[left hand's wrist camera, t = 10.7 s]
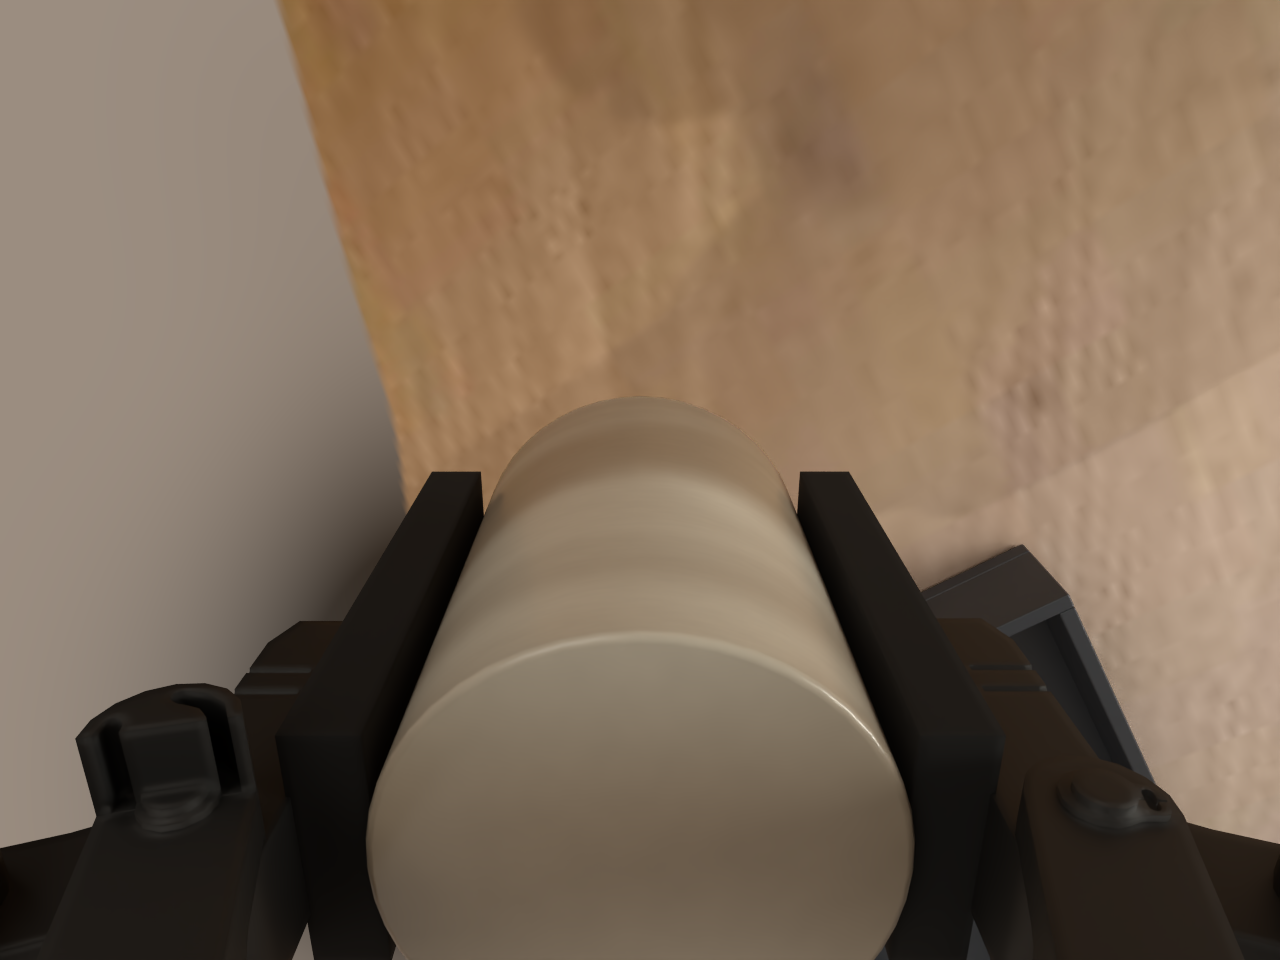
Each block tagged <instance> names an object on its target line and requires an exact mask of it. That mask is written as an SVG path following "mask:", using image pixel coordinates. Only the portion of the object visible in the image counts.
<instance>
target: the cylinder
mask: <svg viewBox="0 0 1280 960" xmlns="http://www.w3.org/2000/svg"><path fill="white" fill-rule="evenodd" d="M914 849H915V835H914V826H913V817H912V810H911V806H910V803H909V799H908V796H907V793H906V789H905V786H904V782H903V780H902V777H901V775H900V772H899V770H898V767H897V765H896V762H895V760H894V757H893V755H892V752H891V750H890V747H889V745H888V742H887V740H886V737H885V735H884V732H883V730H882V727H881V724H880V722H879V719H878V717H877V714H876V712H875V709H874V707H873V704H872V702H871V699H870V697H869V694H868V692H867V689H866V687H865V684H864V682H863V679H862V677H861V674H860V672H859V669H858V667H857V664H856V662H855V659H854V657H853V654H852V652H851V649H850V647H849V644H848V642H847V639H846V636H845V634H844V631H843V629H842V626H841V624H840V621H839V619H838V616H837V614H836V611H835V609H834V606H833V604H832V601H831V599H830V596H829V594H828V591H827V589H826V586H825V584H824V581H823V579H822V576H821V574H820V571H819V569H818V566H817V564H816V561H815V559H814V556H813V554H812V551H811V549H810V546H809V543H808V541H807V538H806V536H805V533H804V531H803V528H802V526H801V523H800V521H799V518H798V516H797V513H796V511H795V508H794V506H793V503H792V501H791V498H790V496H789V493H788V491H787V489H786V486H785V484H784V482H783V480H782V478H781V476H780V474H779V472H778V471H777V469H776V468H775V466H774V465H773V463H772V461H771V460H770V458H769V457H768V456H767V455H766V454H765V452H764V451H763V450H762V449H761V448H760V447H759V446H758V444H757V443H756V442H755V441H754V440H752V439H751V438H750V437H749V436H748V435H747V434H745V433H744V432H743V431H742V430H741V429H740V428H738V427H736V426H735V425H733V424H732V423H730V422H729V421H727V420H726V419H724V418H723V417H721V416H719V415H716V414H714V413H712V412H710V411H708V410H706V409H704V408H701V407H698V406H695V405H692V404H689V403H686V402H682V401H677V400H672V399H667V398H659V397H643V396H638V397H623V398H615V399H610V400H605V401H599V402H596V403H593V404H590V405H587V406H584V407H581V408H578V409H576V410H574V411H571V412H569V413H567V414H565V415H563V416H561V417H559V418H557V419H556V420H554V421H553V422H551V423H550V424H548V425H547V426H545V427H544V428H542V429H541V430H540V431H539V432H537V433H536V434H535V435H534V436H533V437H532V438H530V439H529V440H528V441H527V442H526V443H525V444H524V445H523V446H522V447H521V449H520V450H519V451H518V452H517V453H516V454H515V455H514V457H513V458H512V459H511V461H510V463H509V464H508V466H507V467H506V469H505V470H504V472H503V473H502V475H501V477H500V479H499V482H498V484H497V486H496V488H495V490H494V492H493V495H492V497H491V500H490V502H489V505H488V507H487V510H486V512H485V515H484V517H483V520H482V522H481V525H480V527H479V530H478V532H477V535H476V537H475V540H474V542H473V545H472V547H471V550H470V552H469V555H468V557H467V560H466V562H465V564H464V567H463V569H462V572H461V574H460V577H459V579H458V582H457V584H456V587H455V589H454V592H453V594H452V597H451V599H450V602H449V604H448V607H447V609H446V612H445V614H444V617H443V619H442V622H441V624H440V627H439V629H438V632H437V634H436V637H435V639H434V641H433V644H432V646H431V649H430V651H429V654H428V656H427V659H426V661H425V664H424V666H423V669H422V671H421V674H420V676H419V679H418V681H417V684H416V686H415V689H414V691H413V694H412V696H411V699H410V701H409V704H408V706H407V709H406V711H405V714H404V716H403V718H402V721H401V723H400V726H399V728H398V731H397V733H396V736H395V738H394V741H393V743H392V746H391V748H390V751H389V753H388V756H387V758H386V761H385V763H384V766H383V768H382V771H381V773H380V776H379V778H378V781H377V783H376V787H375V790H374V794H373V797H372V801H371V804H370V808H369V813H368V821H367V830H366V856H367V869H368V874H369V878H370V883H371V887H372V892H373V896H374V900H375V903H376V905H377V908H378V910H379V913H380V915H381V918H382V920H383V923H384V925H385V927H386V929H387V930H388V932H389V934H390V935H391V937H392V939H393V941H394V942H395V944H396V946H397V947H398V949H399V950H400V952H401V953H402V954H403V956H404V957H405V958H406V959H407V960H874V959H875V958H876V957H877V956H878V954H879V953H880V952H881V951H882V949H883V947H884V946H885V944H886V942H887V940H888V939H889V937H890V935H891V934H892V932H893V930H894V928H895V927H896V925H897V922H898V920H899V917H900V915H901V912H902V910H903V907H904V905H905V902H906V899H907V895H908V890H909V886H910V882H911V877H912V873H913V866H914Z"/></svg>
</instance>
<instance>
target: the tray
mask: <svg viewBox="0 0 1280 960" xmlns="http://www.w3.org/2000/svg"><path fill="white" fill-rule="evenodd" d="M921 594H922V595H923V597H924V599H925V600H926V602H927V604H928V605H929V607H930V609H931V610H932V612H933V614H934V615H935V617H936V618H982V619H983V620H985V621H986V622H988V623H989V624H991V625H992V626H994V627H995V628H997V629H998V630H1000V631H1001V632H1002V633H1004V634H1005V635H1007V636H1008V637H1010V638H1011V639H1013V640H1014V641H1015V643H1016V644H1017V646H1018V647H1019V648H1020V650H1021V651H1022V652H1023V654H1024V655H1025V657H1026V658H1027V659H1028V661H1029V662H1030V664H1031V665H1032V670H1035V671H1036V672H1037V673H1038V675H1039V676H1040V677H1041V679H1042V680H1043V682H1044V683H1045V684H1046V686H1047V691H1051V693H1052V694H1053V695H1054V697H1055V698H1056V700H1057V701H1058V702H1059V704H1060V705H1061V707H1062V708H1063V709H1064V711H1065V712H1066V714H1067V715H1068V716H1069V718H1070V719H1071V720H1072V722H1073V723H1074V725H1075V726H1076V727H1077V729H1078V730H1079V732H1080V733H1081V734H1082V736H1083V737H1084V739H1085V740H1086V741H1087V743H1088V744H1089V745H1090V747H1091V748H1092V750H1093V751H1094V752H1095V754H1096V755H1097V757H1098V758H1099V759H1101V760H1105V761H1109V762H1113V763H1117V764H1119V765H1121V766H1123V767H1125V768H1128V769H1130V770H1132V771H1134V772H1136V773H1138V774H1140V775H1142V776H1145V777H1146V778H1148V779H1149V780H1150V781H1152V782H1153V783H1154V784H1155V781H1154V779H1153V777H1152V775H1151V773H1150V770H1149V768H1148V766H1147V764H1146V762H1145V759H1144V757H1143V755H1142V753H1141V751H1140V749H1139V746H1138V744H1137V742H1136V740H1135V738H1134V735H1133V733H1132V731H1131V729H1130V727H1129V725H1128V722H1127V720H1126V718H1125V716H1124V714H1123V711H1122V709H1121V707H1120V705H1119V703H1118V701H1117V698H1116V696H1115V694H1114V692H1113V690H1112V687H1111V685H1110V683H1109V681H1108V679H1107V676H1106V674H1105V672H1104V670H1103V668H1102V666H1101V663H1100V661H1099V659H1098V657H1097V655H1096V652H1095V650H1094V648H1093V646H1092V644H1091V642H1090V639H1089V637H1088V635H1087V633H1086V631H1085V628H1084V626H1083V624H1082V622H1081V620H1080V618H1079V615H1078V613H1077V611H1076V609H1075V607H1074V604H1073V602H1072V600H1071V598H1070V596H1069V594H1068V593H1067V592H1066V591H1065V590H1064V589H1063V588H1062V587H1061V585H1060V584H1059V583H1058V582H1057V581H1056V580H1055V579H1054V578H1053V577H1052V576H1051V574H1050V573H1049V572H1048V571H1047V570H1046V569H1045V568H1044V567H1043V566H1042V565H1041V563H1040V562H1039V561H1038V560H1037V559H1036V558H1035V557H1034V556H1033V555H1032V554H1031V553H1030V552H1029V550H1028V549H1027V548H1026V547H1025V546H1024V545H1019V546H1017V547H1015V548H1013V549H1011V550H1009V551H1007V552H1004V553H1002V554H1000V555H998V556H996V557H994V558H992V559H990V560H988V561H986V562H984V563H982V564H980V565H977V566H975V567H973V568H971V569H969V570H967V571H965V572H963V573H961V574H959V575H957V576H955V577H952V578H950V579H948V580H946V581H944V582H942V583H940V584H938V585H936V586H934V587H932V588H930V589H928V590H925V591H923V592H921ZM874 960H889V958H888V955H887V952H886V948H885V946H884V947H883V949H882V951H881V952H880V953H879V954H878V956H877V957H876V958H875V959H874ZM967 960H990V956H989V954H988V952H987V949H986V947H985V944H984V942H983V940H982V937H981V935H980V933H979V930H978V928H977V925H976V923H975V921H974V920H973V926H972V932H971V937H970V943H969V949H968V954H967Z"/></svg>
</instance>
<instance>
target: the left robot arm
mask: <svg viewBox="0 0 1280 960" xmlns="http://www.w3.org/2000/svg"><path fill="white" fill-rule="evenodd" d="M797 516H798V518H799V521H800V523H801V526H802V528H803V531H804V533H805V536H806V538H807V541H808V543H809V546H810V549H811V551H812V554H813V556H814V559H815V561H816V564H817V566H818V569H819V571H820V574H821V576H822V579H823V581H824V584H825V586H826V589H827V591H828V594H829V596H830V599H831V601H832V604H833V606H834V609H835V611H836V614H837V616H838V619H839V621H840V624H841V626H842V629H843V631H844V634H845V636H846V639H847V642H848V644H849V647H850V649H851V652H852V654H853V657H854V659H855V662H856V664H857V667H858V669H859V672H860V674H861V677H862V679H863V682H864V684H865V687H866V689H867V692H868V694H869V697H870V699H871V702H872V704H873V707H874V709H875V712H876V714H877V717H878V719H879V722H880V724H881V727H882V730H883V732H884V735H885V737H886V740H887V742H888V745H889V747H890V750H891V752H892V755H893V757H894V760H895V762H896V765H897V767H898V770H899V772H900V775H901V777H902V780H903V782H904V786H905V789H906V793H907V796H908V799H909V803H910V806H911V810H912V817H913V826H914V835H915V849H914V866H913V873H912V877H911V882H910V886H909V890H908V895H907V899H906V902H905V905H904V907H903V910H902V912H901V915H900V917H899V920H898V922H897V925H896V927H895V928H894V930H893V932H892V934H891V935H890V937H889V939H888V940H887V942H886V944H885V948H886V952H887V955H888V958H889V960H967V954H968V949H969V943H970V937H971V932H972V926H973V920H974V921H975V923H976V925H977V928H978V930H979V933H980V935H981V937H982V940H983V942H984V944H985V947H986V949H987V952H988V954H989V956H990V960H1280V844H1277V843H1272V842H1267V841H1263V840H1258V839H1254V838H1249V837H1244V836H1240V835H1235V834H1231V833H1226V832H1221V831H1217V830H1212V829H1208V828H1205V827H1201V826H1198V825H1194V824H1191V823H1187V822H1186V820H1185V817H1184V815H1183V814H1182V812H1181V811H1180V809H1179V808H1178V807H1177V805H1176V804H1175V802H1174V801H1173V799H1172V798H1171V797H1170V795H1169V794H1167V793H1166V792H1165V791H1163V790H1162V789H1161V788H1159V787H1158V786H1157V785H1156V784H1154V783H1153V782H1152V781H1150V780H1149V779H1148V778H1146V777H1145V776H1142V775H1140V774H1138V773H1136V772H1134V771H1132V770H1130V769H1128V768H1125V767H1123V766H1121V765H1119V764H1117V763H1113V762H1109V761H1105V760H1101V759H1099V758H1098V757H1097V755H1096V754H1095V752H1094V751H1093V750H1092V748H1091V747H1090V745H1089V744H1088V743H1087V741H1086V740H1085V739H1084V737H1083V736H1082V734H1081V733H1080V732H1079V730H1078V729H1077V727H1076V726H1075V725H1074V723H1073V722H1072V720H1071V719H1070V718H1069V716H1068V715H1067V714H1066V712H1065V711H1064V709H1063V708H1062V707H1061V705H1060V704H1059V702H1058V701H1057V700H1056V698H1055V697H1054V695H1053V694H1052V693H1051V691H1047V686H1046V684H1045V683H1044V682H1043V680H1042V679H1041V677H1040V676H1039V675H1038V673H1037V672H1036V671H1035V670H1032V665H1031V664H1030V662H1029V661H1028V659H1027V658H1026V657H1025V655H1024V654H1023V652H1022V651H1021V650H1020V648H1019V647H1018V646H1017V644H1016V643H1015V641H1014V640H1013V639H1011V638H1010V637H1008V636H1007V635H1005V634H1004V633H1002V632H1001V631H1000V630H998V629H997V628H995V627H994V626H992V625H991V624H989V623H988V622H986V621H985V620H983V619H982V618H936V617H935V615H934V614H933V612H932V610H931V609H930V607H929V605H928V604H927V602H926V600H925V599H924V597H923V595H922V594H921V592H920V590H919V589H918V587H917V585H916V584H915V582H914V580H913V579H912V577H911V575H910V574H909V572H908V570H907V569H906V567H905V565H904V563H903V562H902V560H901V558H900V557H899V555H898V553H897V552H896V550H895V548H894V547H893V545H892V543H891V542H890V540H889V538H888V537H887V535H886V533H885V532H884V530H883V528H882V527H881V525H880V523H879V522H878V520H877V518H876V517H875V515H874V513H873V511H872V510H871V508H870V506H869V505H868V503H867V501H866V500H865V498H864V496H863V495H862V493H861V491H860V490H859V488H858V486H857V485H856V483H855V481H854V480H853V478H852V476H851V475H850V473H849V472H800V481H799V495H798V510H797ZM483 517H484V512H483V497H482V482H481V472H432V473H431V474H430V476H429V478H428V479H427V481H426V483H425V484H424V486H423V488H422V490H421V491H420V493H419V495H418V496H417V498H416V500H415V501H414V503H413V505H412V506H411V508H410V510H409V511H408V513H407V515H406V516H405V518H404V520H403V521H402V523H401V525H400V527H399V528H398V530H397V531H396V533H395V535H394V536H393V538H392V540H391V541H390V543H389V545H388V547H387V548H386V550H385V552H384V553H383V555H382V557H381V558H380V560H379V562H378V563H377V565H376V567H375V569H374V570H373V572H372V573H371V575H370V577H369V578H368V580H367V582H366V584H365V585H364V587H363V588H362V590H361V592H360V593H359V595H358V597H357V599H356V600H355V602H354V604H353V605H352V607H351V609H350V610H349V612H348V614H347V615H346V617H345V619H344V620H343V621H299V622H298V623H296V624H295V625H293V626H292V627H291V628H289V629H288V630H286V631H285V632H283V633H282V634H280V635H279V636H277V637H276V638H274V639H273V640H271V641H270V642H268V644H267V645H266V646H265V648H264V649H263V650H262V652H261V653H260V655H259V656H258V657H257V659H256V660H255V662H254V663H253V664H252V666H251V667H250V673H246V674H245V676H244V677H243V678H242V680H241V681H240V683H239V684H238V685H237V687H236V688H235V694H233V693H232V692H231V691H229V690H228V689H227V688H223V687H218V686H214V685H210V684H206V683H198V684H175V685H171V686H166V687H162V688H157V689H153V690H148V691H145V692H142V693H140V694H137V695H135V696H132V697H130V698H128V699H125V700H123V701H120V702H118V703H116V704H114V705H113V706H111V707H110V708H108V709H107V710H105V711H104V712H102V713H101V714H99V715H98V716H96V717H95V718H93V719H92V720H90V722H89V723H88V724H87V725H86V726H85V728H84V729H83V730H82V731H81V732H80V734H79V735H78V736H77V737H76V743H77V747H78V750H79V754H80V758H81V761H82V765H83V769H84V772H85V776H86V779H87V783H88V787H89V790H90V794H91V798H92V801H93V805H94V809H95V813H96V819H95V821H94V824H93V826H92V827H90V828H86V829H83V830H79V831H76V832H72V833H68V834H63V835H59V836H54V837H50V838H45V839H40V840H36V841H31V842H27V843H23V844H18V845H13V846H8V847H4V848H0V960H292V958H293V956H294V953H295V951H296V949H297V946H298V944H299V941H300V939H301V937H302V934H303V932H304V929H305V927H306V924H307V922H308V928H309V933H310V939H311V945H312V950H313V956H314V960H392V958H393V954H394V951H395V947H396V944H395V942H394V941H393V939H392V937H391V935H390V934H389V932H388V930H387V929H386V927H385V925H384V923H383V920H382V918H381V915H380V913H379V910H378V908H377V905H376V903H375V900H374V896H373V892H372V887H371V883H370V878H369V874H368V869H367V856H366V830H367V821H368V813H369V808H370V804H371V801H372V797H373V794H374V790H375V787H376V783H377V781H378V778H379V776H380V773H381V771H382V768H383V766H384V763H385V761H386V758H387V756H388V753H389V751H390V748H391V746H392V743H393V741H394V738H395V736H396V733H397V731H398V728H399V726H400V723H401V721H402V718H403V716H404V714H405V711H406V709H407V706H408V704H409V701H410V699H411V696H412V694H413V691H414V689H415V686H416V684H417V681H418V679H419V676H420V674H421V671H422V669H423V666H424V664H425V661H426V659H427V656H428V654H429V651H430V649H431V646H432V644H433V641H434V639H435V637H436V634H437V632H438V629H439V627H440V624H441V622H442V619H443V617H444V614H445V612H446V609H447V607H448V604H449V602H450V599H451V597H452V594H453V592H454V589H455V587H456V584H457V582H458V579H459V577H460V574H461V572H462V569H463V567H464V564H465V562H466V560H467V557H468V555H469V552H470V550H471V547H472V545H473V542H474V540H475V537H476V535H477V532H478V530H479V527H480V525H481V522H482V520H483Z"/></svg>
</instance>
